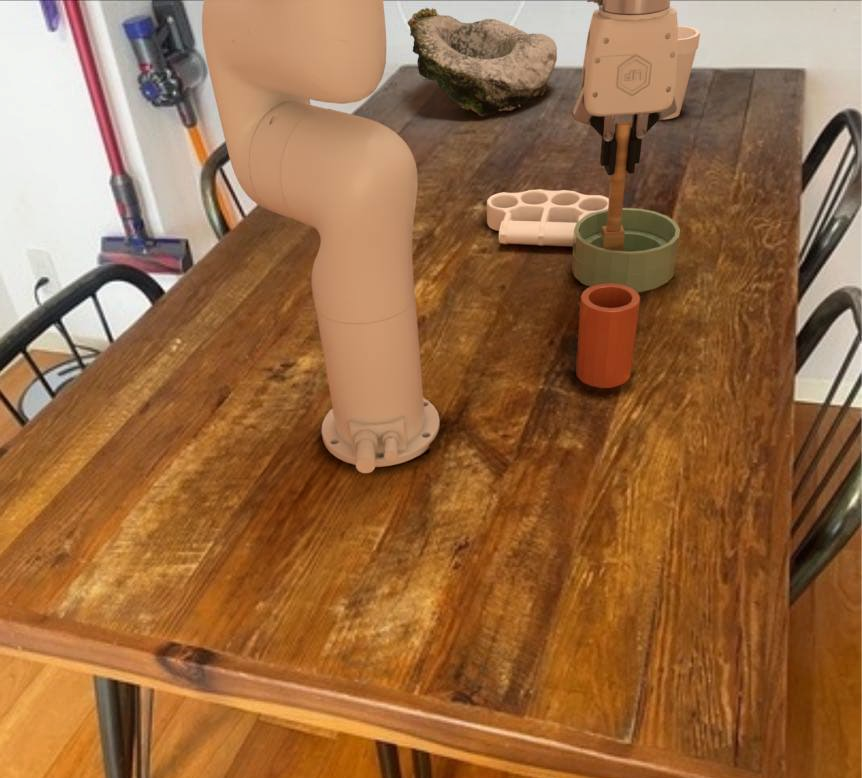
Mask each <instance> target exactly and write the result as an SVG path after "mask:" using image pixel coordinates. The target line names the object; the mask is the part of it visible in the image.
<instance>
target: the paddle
mask: <svg viewBox="0 0 862 778" xmlns="http://www.w3.org/2000/svg"><path fill="white" fill-rule="evenodd" d="M631 125H632V120H631V121H630V120H628V119H618V120H615V123H614V133H615V139H616V141H617V152H616V163H615V173H614V174H613V175H610V183H609V192H608V193H609V194H608V199H609V204H608V215H607V226H602V233H601V245H600V248H604V249H608V250H613V251H623V245H624V235H625V231H624V229H623V226H622V225H621V219H622V209H623V208H624V197H625V187H626V177H627V170H626V168H627V158H628V148H629V138H630V129H631Z"/></svg>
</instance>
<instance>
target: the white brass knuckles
mask: <svg viewBox="0 0 862 778" xmlns="http://www.w3.org/2000/svg"><path fill="white" fill-rule="evenodd" d="M608 204H609V197H607V196H604V195H602V194H601V195H600V194H595V195H593V194H584V193H580V192H577V191H573V190H567V189H562V190H547V189H543V188H542V189H541V188H540V189H528V190H524V191H520V192H505V191H503V192H498V193H495V194H492V195H490V196H489V197H488V198H487V200H486V224H487V226H488V227H489V229H492V231H493V230H494V231H496V232H498V243H499V244H502V245H509V244H510V245H529V246H530V245H531V246H539V247H544V246H548V247H549V246H550V247H572V248H573V237H574V229H575V226H576V223H577V222H579V221H580V220H581V219H582V218H583V217H585V216H587V215H590V214H592V213H594V212H598V211H602V210H607V209H608Z"/></svg>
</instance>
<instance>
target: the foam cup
mask: <svg viewBox="0 0 862 778" xmlns="http://www.w3.org/2000/svg"><path fill="white" fill-rule="evenodd" d="M700 37H701V31H699V29H698V28H695V27H692V26H686V25H678V48H677V68H676V83H675V93H674V98H675V102H676V106H677V110H676V112H675V113H674V114H671V115H669V116H667V117H665V118H663V119H662V120H670V119H674V118H677V117H679V116H680V114H681V111H682V107H683V104H684V99H685V95H686V91H687V89H688V88H687V87H688V84H689V80H690V76H691V72H692V68H693V64H694V61H695V56H696V52H697V50H698V49H699V43H700Z"/></svg>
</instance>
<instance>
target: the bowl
mask: <svg viewBox="0 0 862 778" xmlns="http://www.w3.org/2000/svg"><path fill="white" fill-rule="evenodd" d="M607 215H608V209H607V210H602V211H598V212H594V213H592V214H590V215H587V216H585V217H583V218H582V219H581V220H580V221H579V222H577V223H576V226H575V229H574V237H573V247H572V256H571V257H572V258H571V270H572V274H573V277H574V278H575V279H576V280H578V282H579V283H580V284H582V285H585V286H586V287H591V286H595V285H598V284H607V283H614V284H622V285H625V286H628V287H631V288H632V289H634V290H635V291H636V292H637V293H642V292H643V293H644V292H647V291H651V290H654V289H658V288H659V287H661V286H663V285H665V284H667V283H668V282H670V280H671V279H673V278H674V277H675V276H674V275H675V268H676V262H677V257H678V249H679V244H680V243H679V242H680V236H681V235H680V234H681V228H680V226H679V225H678V222H676V221H675V220H674V219H672V218H671V217H669V216H668V215H666V214H662V213H660V212H658V211H654V210H649V209H645V208H637V207H636V208H634V207H623V209H622V219H621V225H622V226H623V229H624V231H625V235H624V245H623V251H613V250H608V249H604V248H600V245H601V233H602V226H607Z"/></svg>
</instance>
